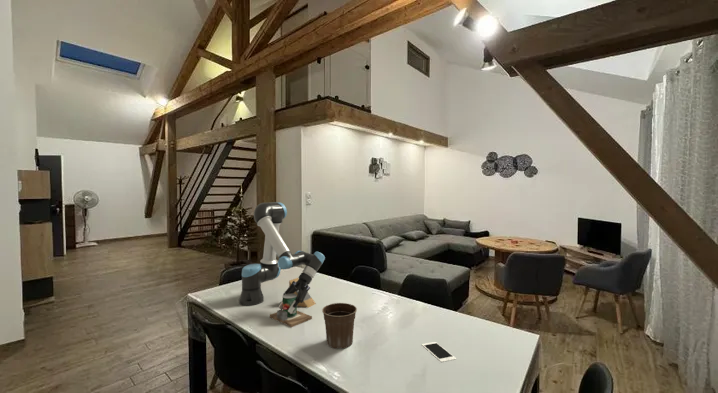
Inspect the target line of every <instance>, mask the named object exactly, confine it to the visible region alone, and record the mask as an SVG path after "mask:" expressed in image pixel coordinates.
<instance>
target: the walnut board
mask: <svg viewBox="0 0 718 393" xmlns="http://www.w3.org/2000/svg"><path fill="white" fill-rule="evenodd" d="M269 318H271V319H273V320H275V321H277V322H279V323H281V322H282V323H281V324H283V323H284V325H286V326H288V327H290V328H294V327H296V326H299V325H301V324H304V323H306V322H308V321H311V320H313V316H312V315H309V314H307V313H304V312H302V311H299V310H297V315H296V316H295V317H292V318H287V312H286V311H283V309H282V310H281V309H278V310H276V312H274V313H270V314H269Z"/></svg>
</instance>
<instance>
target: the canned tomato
mask: <svg viewBox="0 0 718 393" xmlns="http://www.w3.org/2000/svg"><path fill="white" fill-rule="evenodd" d="M296 298H297V295H296V294H285V295H283V294H282V300H283V309H282V310H283V311H286V312H287V318H292V317H295V316H296V315H297V311H298V306H297V307H296V308H295V309H294V310H293V312H292V313H289V312H288V310H289V308H290V306H291V305H292V303H293V302H294V300H295V299H296ZM295 301H296V300H295Z"/></svg>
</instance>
